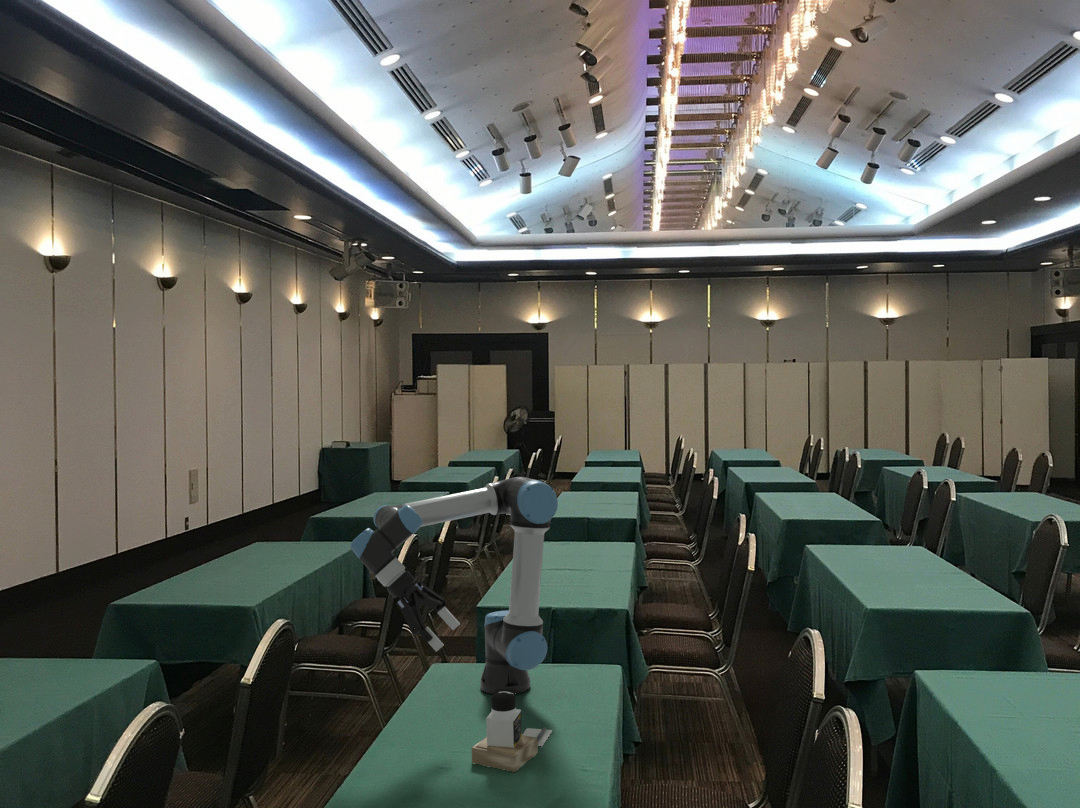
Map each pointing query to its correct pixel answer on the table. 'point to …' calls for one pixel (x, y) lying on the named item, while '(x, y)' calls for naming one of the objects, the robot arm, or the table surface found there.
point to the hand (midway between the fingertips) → (448, 637)
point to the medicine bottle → (503, 721)
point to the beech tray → (505, 754)
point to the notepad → (538, 734)
